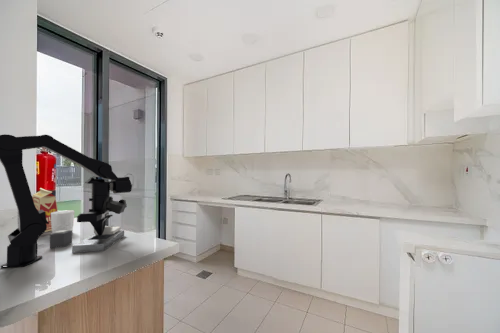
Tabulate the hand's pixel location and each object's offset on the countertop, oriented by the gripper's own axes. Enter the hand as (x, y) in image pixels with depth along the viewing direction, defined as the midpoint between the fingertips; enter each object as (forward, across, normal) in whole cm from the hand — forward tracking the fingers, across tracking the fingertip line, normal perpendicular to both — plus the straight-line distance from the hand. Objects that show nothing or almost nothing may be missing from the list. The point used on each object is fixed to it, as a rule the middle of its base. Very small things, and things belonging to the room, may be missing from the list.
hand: (100, 234), depth 80 cm
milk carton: (+4, +24, +36) cm, 44 cm away
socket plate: (+4, +1, 0) cm, 4 cm away
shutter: (+1, +6, 0) cm, 6 cm away
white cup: (+4, +16, +23) cm, 28 cm away
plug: (+4, +1, +14) cm, 15 cm away
